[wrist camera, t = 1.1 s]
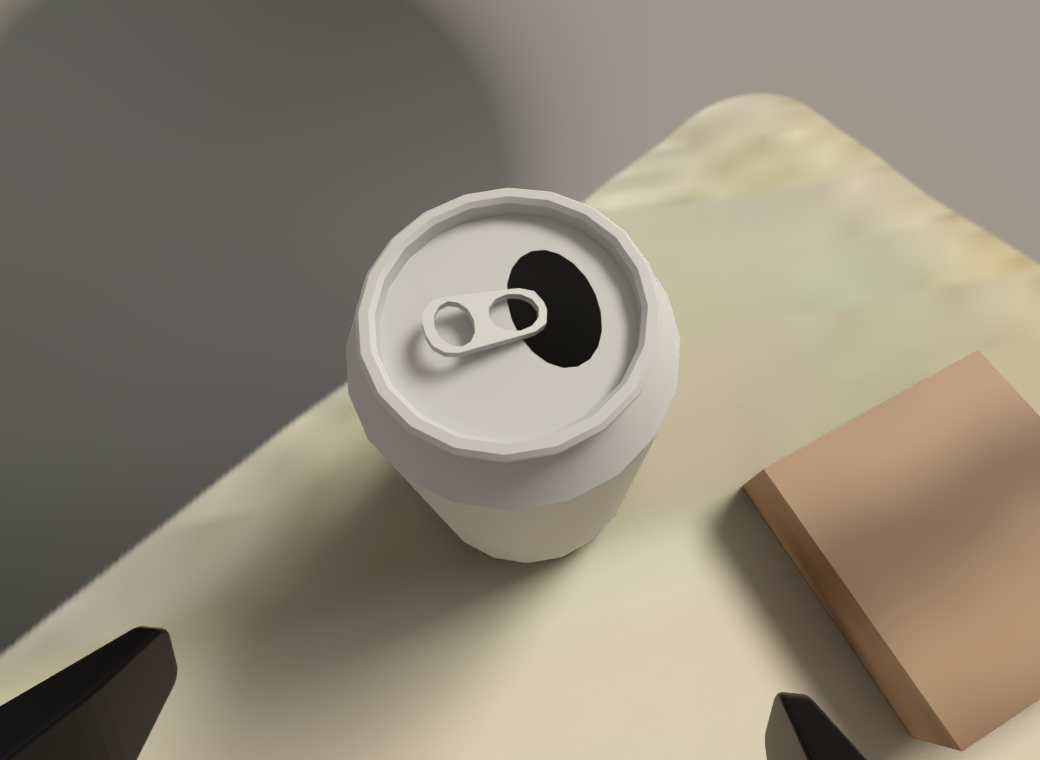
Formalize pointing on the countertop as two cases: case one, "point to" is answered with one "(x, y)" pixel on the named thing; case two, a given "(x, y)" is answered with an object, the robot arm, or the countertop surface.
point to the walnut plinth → (926, 546)
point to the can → (514, 367)
